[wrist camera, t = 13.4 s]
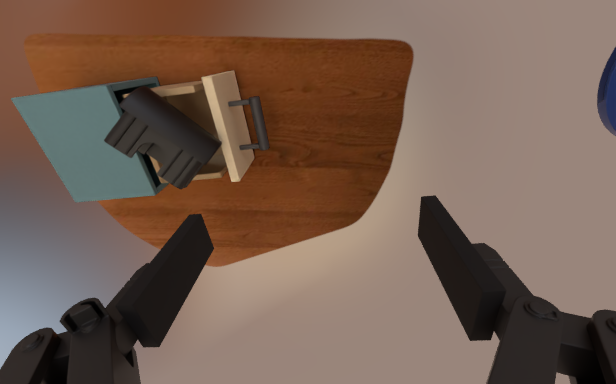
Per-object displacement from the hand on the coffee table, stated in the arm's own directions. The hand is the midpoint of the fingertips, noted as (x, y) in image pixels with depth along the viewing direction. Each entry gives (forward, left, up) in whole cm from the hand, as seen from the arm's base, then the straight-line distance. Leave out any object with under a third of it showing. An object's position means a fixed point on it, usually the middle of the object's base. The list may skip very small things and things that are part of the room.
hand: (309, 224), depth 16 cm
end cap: (+12, +14, -20) cm, 27 cm away
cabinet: (+19, +23, -29) cm, 41 cm away
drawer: (+10, +11, -28) cm, 32 cm away
